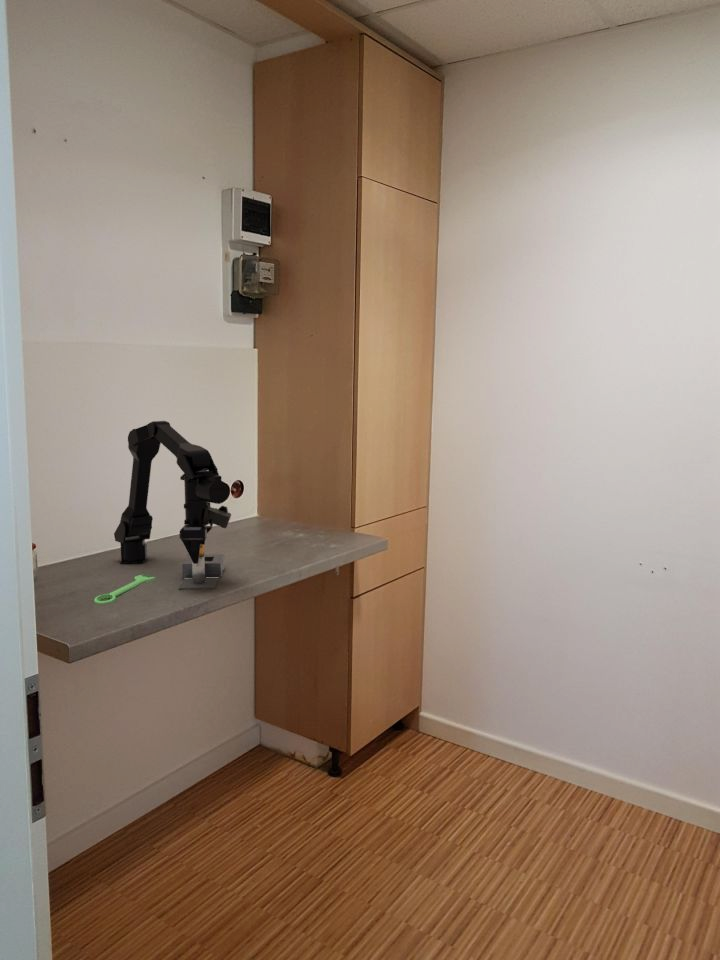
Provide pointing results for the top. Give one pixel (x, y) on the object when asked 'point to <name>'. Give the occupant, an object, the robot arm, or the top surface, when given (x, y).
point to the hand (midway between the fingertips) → (198, 559)
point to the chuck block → (206, 566)
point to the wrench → (122, 589)
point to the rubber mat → (189, 585)
